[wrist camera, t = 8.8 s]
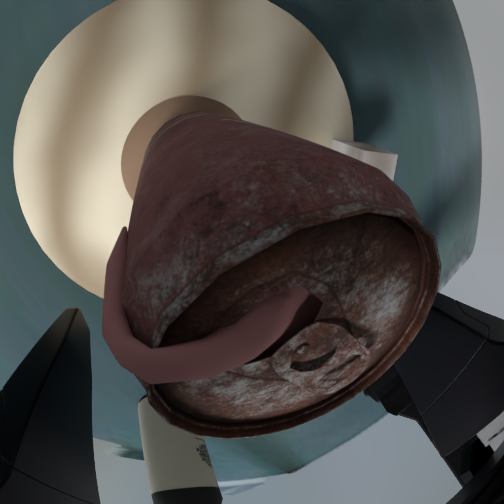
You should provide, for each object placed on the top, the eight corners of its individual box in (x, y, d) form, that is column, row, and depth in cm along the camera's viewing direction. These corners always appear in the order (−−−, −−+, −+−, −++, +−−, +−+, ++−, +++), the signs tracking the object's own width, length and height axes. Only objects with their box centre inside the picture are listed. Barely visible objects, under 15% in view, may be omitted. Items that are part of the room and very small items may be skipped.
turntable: (361, 23, 14) (407, 16, 10) (327, 276, 26) (356, 309, 22) (21, 25, 7) (-14, 12, 3) (68, 314, 19) (58, 359, 15)
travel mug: (144, 418, 33) (166, 529, 18) (131, 393, 29) (153, 529, 14) (196, 413, 35) (229, 522, 21) (192, 387, 31) (232, 520, 17)
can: (147, 105, 13) (58, 132, 1) (256, 120, 15) (490, 220, 4) (135, 207, 15) (130, 459, 4) (235, 213, 18) (365, 410, 7)
